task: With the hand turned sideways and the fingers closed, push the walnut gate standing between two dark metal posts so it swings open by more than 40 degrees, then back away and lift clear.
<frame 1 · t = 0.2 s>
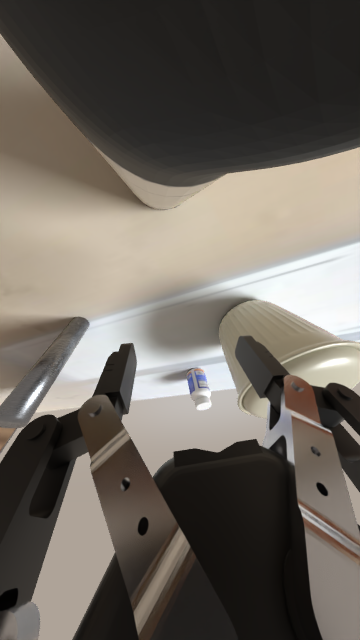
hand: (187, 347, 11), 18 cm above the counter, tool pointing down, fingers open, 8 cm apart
gate posts: (80, 323, 28), on the counter
canister: (242, 321, 34), on the counter
pill bottle: (195, 372, 43), on the counter
gate leaf: (34, 388, 26), point 8 cm above the counter, hinge at 0.0°
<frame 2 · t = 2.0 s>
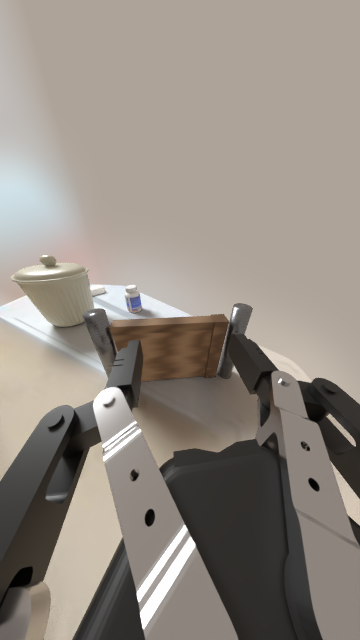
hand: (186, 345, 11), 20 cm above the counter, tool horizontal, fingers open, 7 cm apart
gate posts: (118, 381, 30), on the counter
canister: (74, 319, 51), on the counter
pill bottle: (135, 310, 57), on the counter
gate leaf: (171, 352, 27), point 8 cm above the counter, hinge at 0.0°
soap: (95, 294, 72), on the counter
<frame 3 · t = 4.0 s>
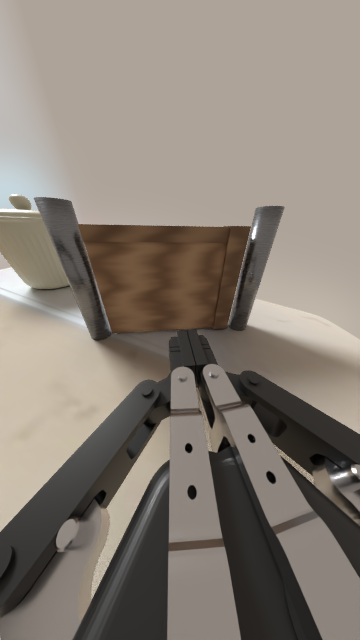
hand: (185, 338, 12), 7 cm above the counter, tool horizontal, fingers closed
gate posts: (101, 333, 23), on the counter
canister: (58, 284, 44), on the counter
gate leaf: (170, 286, 20), point 8 cm above the counter, hinge at 0.0°
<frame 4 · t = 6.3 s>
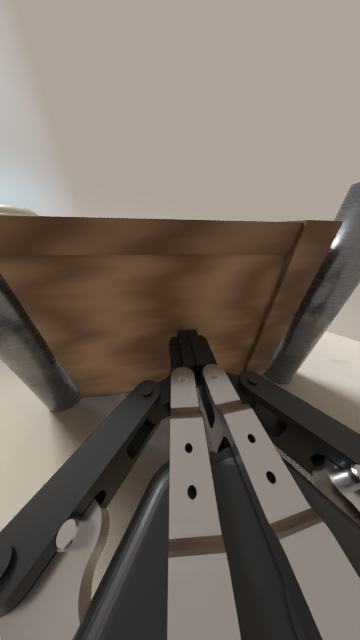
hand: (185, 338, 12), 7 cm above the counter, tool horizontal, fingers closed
gate posts: (67, 396, 15), on the counter
canister: (31, 298, 35), on the counter
gate leaf: (178, 325, 12), point 8 cm above the counter, hinge at 1.3°, touching gripper
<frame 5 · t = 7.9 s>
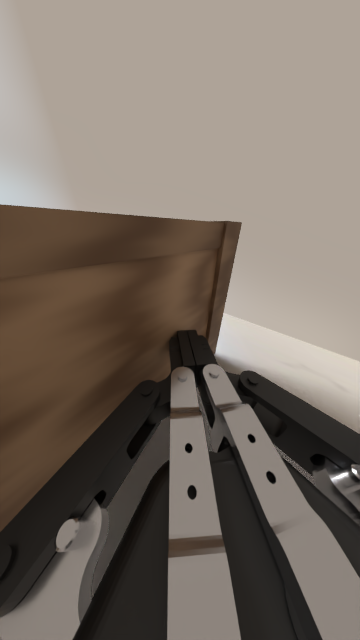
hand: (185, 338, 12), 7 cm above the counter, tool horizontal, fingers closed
gate leaf: (144, 341, 10), point 8 cm above the counter, hinge at 39.1°, touching gripper
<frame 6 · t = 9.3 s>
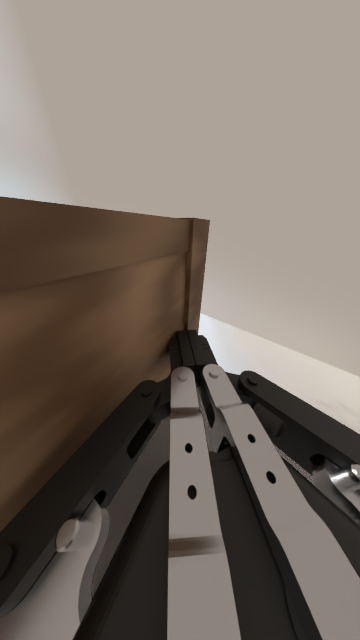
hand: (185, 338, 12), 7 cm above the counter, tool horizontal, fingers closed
gate leaf: (99, 386, 7), point 8 cm above the counter, hinge at 51.2°, touching gripper
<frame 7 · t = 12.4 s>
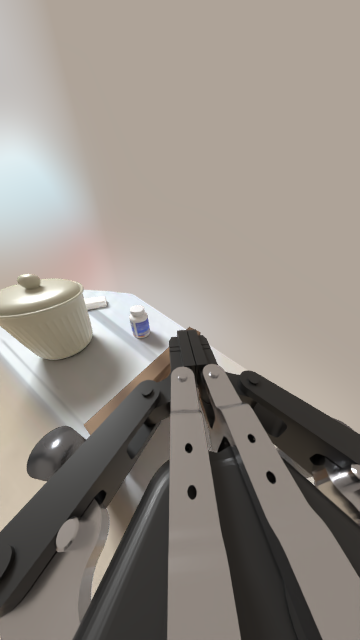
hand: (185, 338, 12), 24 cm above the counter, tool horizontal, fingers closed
gate posts: (111, 479, 21), on the counter
canister: (69, 345, 42), on the counter
pill bottle: (141, 333, 47), on the counter
gate leaf: (161, 391, 24), point 8 cm above the counter, hinge at 51.4°
soap: (95, 306, 61), on the counter
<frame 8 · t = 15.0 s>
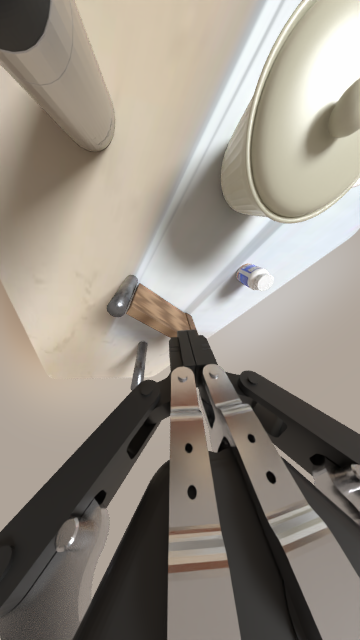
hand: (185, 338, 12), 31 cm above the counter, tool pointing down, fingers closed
gate posts: (132, 280, 39), on the counter
canister: (247, 175, 30), on the counter
pill bottle: (244, 272, 42), on the counter
gate leaf: (167, 315, 37), point 8 cm above the counter, hinge at 51.4°
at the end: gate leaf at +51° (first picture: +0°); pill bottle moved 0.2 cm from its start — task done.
